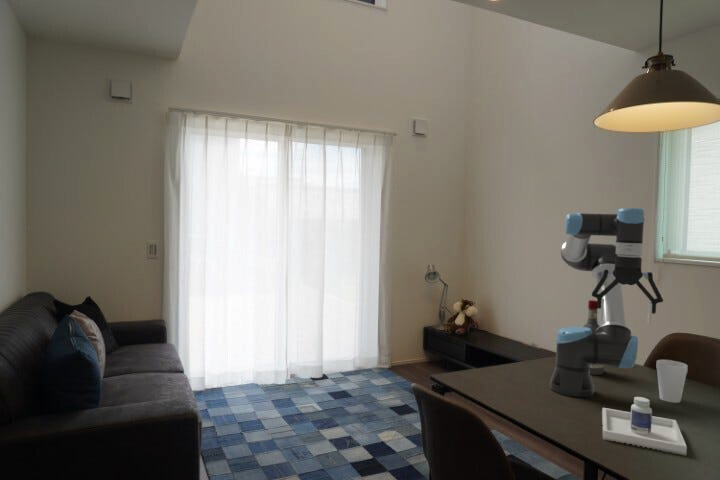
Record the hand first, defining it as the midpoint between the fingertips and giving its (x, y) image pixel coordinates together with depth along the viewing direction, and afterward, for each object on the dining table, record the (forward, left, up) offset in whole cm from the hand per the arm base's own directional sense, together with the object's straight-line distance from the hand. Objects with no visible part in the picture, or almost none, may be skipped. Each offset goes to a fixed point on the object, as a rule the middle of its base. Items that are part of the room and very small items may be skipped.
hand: (624, 320), depth 157 cm
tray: (+5, -15, -31) cm, 34 cm away
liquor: (-9, +46, -31) cm, 56 cm away
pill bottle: (+5, -15, -30) cm, 34 cm away
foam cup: (+17, +24, -31) cm, 42 cm away
